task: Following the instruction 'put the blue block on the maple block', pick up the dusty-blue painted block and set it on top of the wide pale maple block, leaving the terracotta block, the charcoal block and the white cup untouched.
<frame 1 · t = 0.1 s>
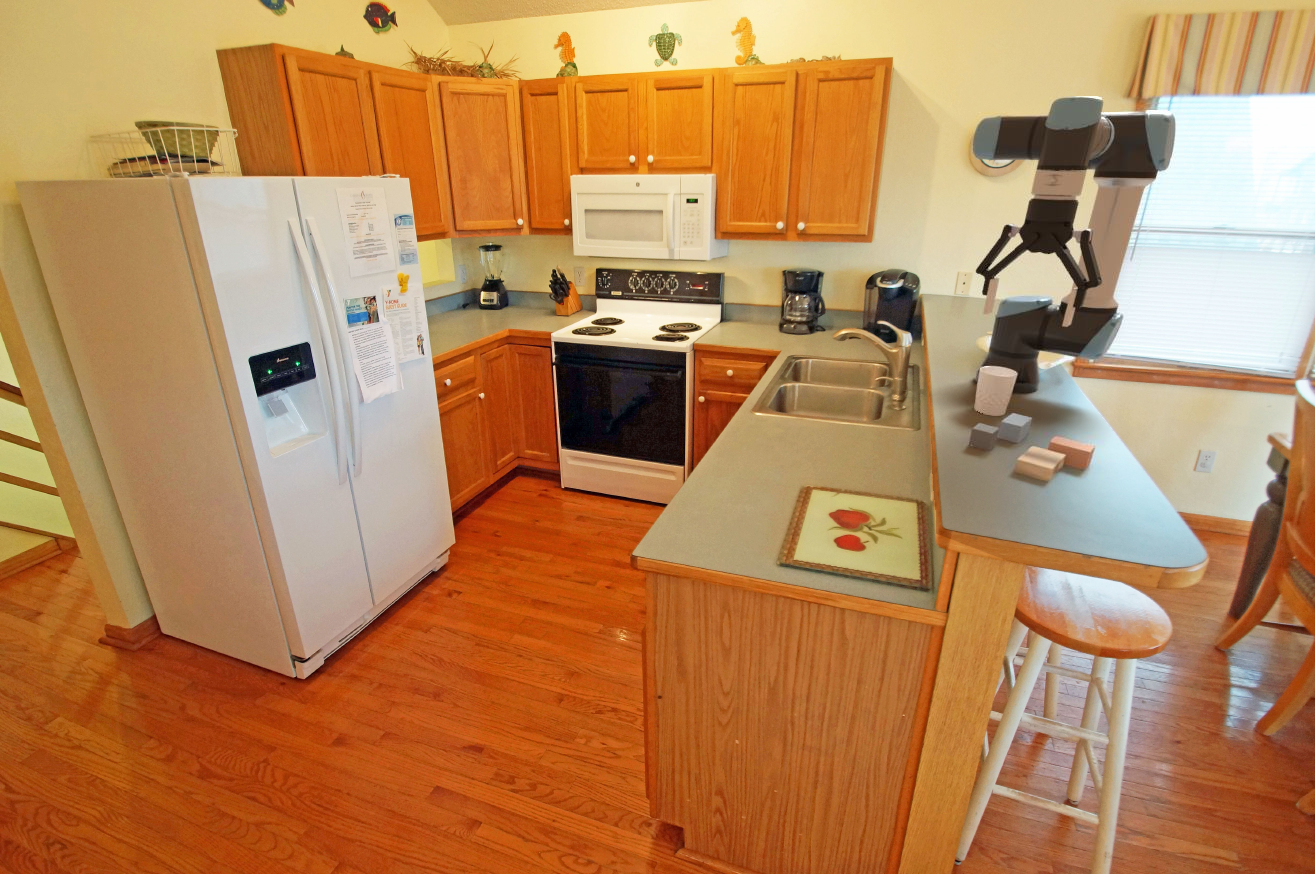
hand: (1025, 319, 120), 28 cm above the table, tool pointing down, fingers open, 13 cm apart
terracotta block: (1067, 462, 128), on the table
blue block: (1012, 436, 140), on the table
white cup: (989, 411, 154), on the table
charcoal block: (981, 445, 135), on the table
maple block: (1038, 470, 125), on the table
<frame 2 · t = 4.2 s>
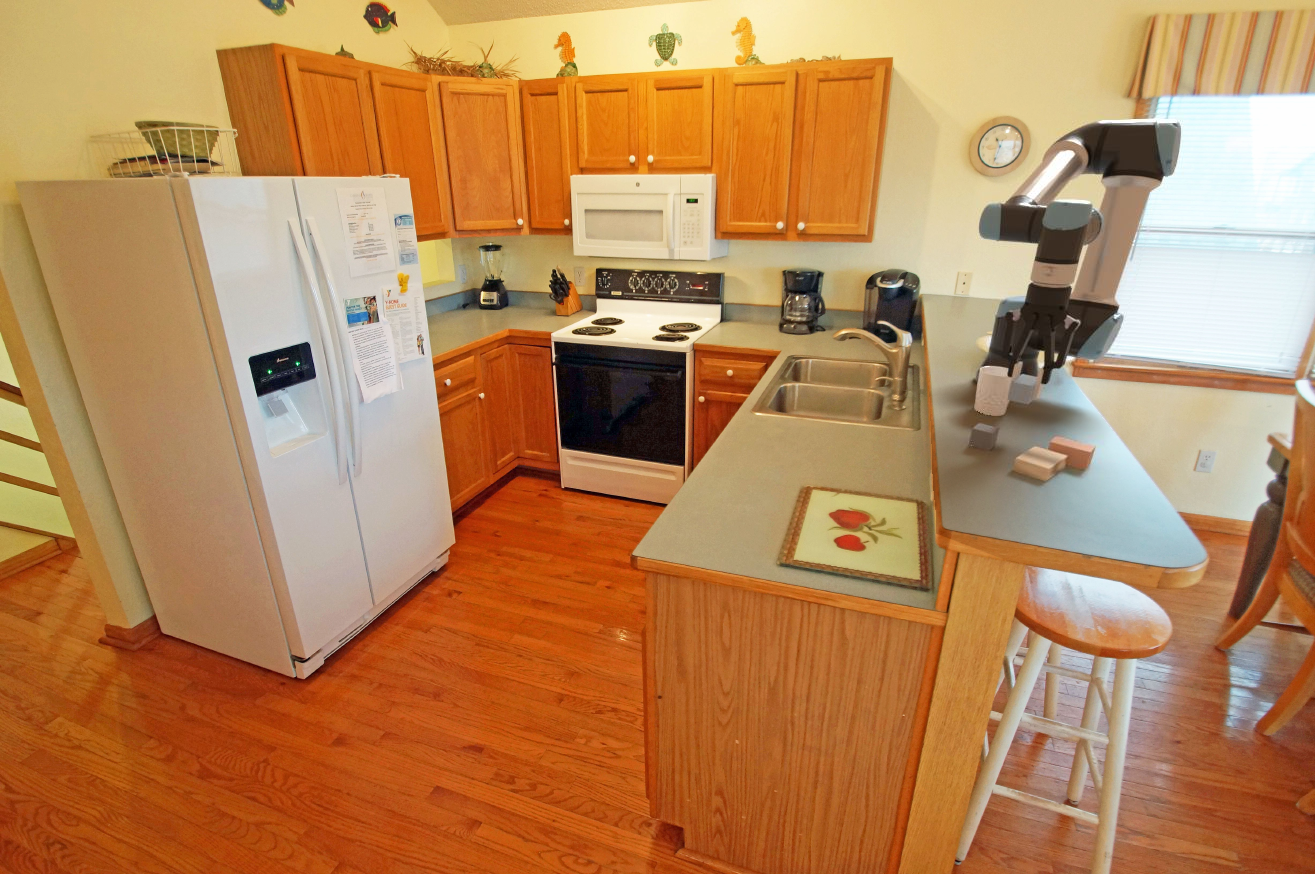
hand: (1023, 394, 136), 9 cm above the table, tool pointing down, fingers closed on blue block, 4 cm apart
blue block: (1022, 397, 137), point 9 cm above the table, touching gripper
everything else where it was.
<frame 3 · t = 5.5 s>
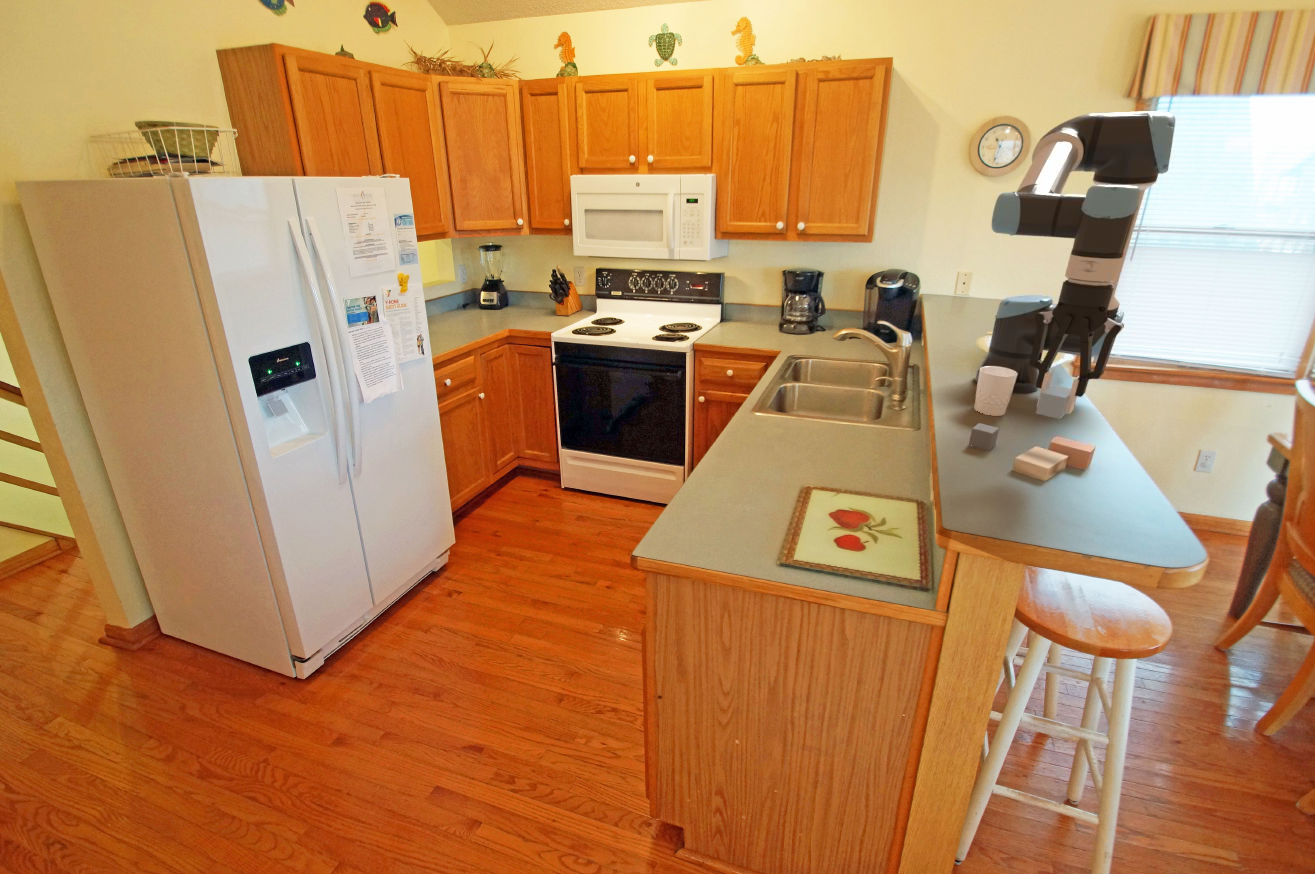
hand: (1054, 408, 120), 13 cm above the table, tool pointing down, fingers closed on blue block, 4 cm apart
blue block: (1053, 411, 120), point 12 cm above the table, touching gripper
everything else where it was.
when the fingers open (5 cm above the table, at t = 7.0 s): blue block drops 2 cm, resting on maple block.
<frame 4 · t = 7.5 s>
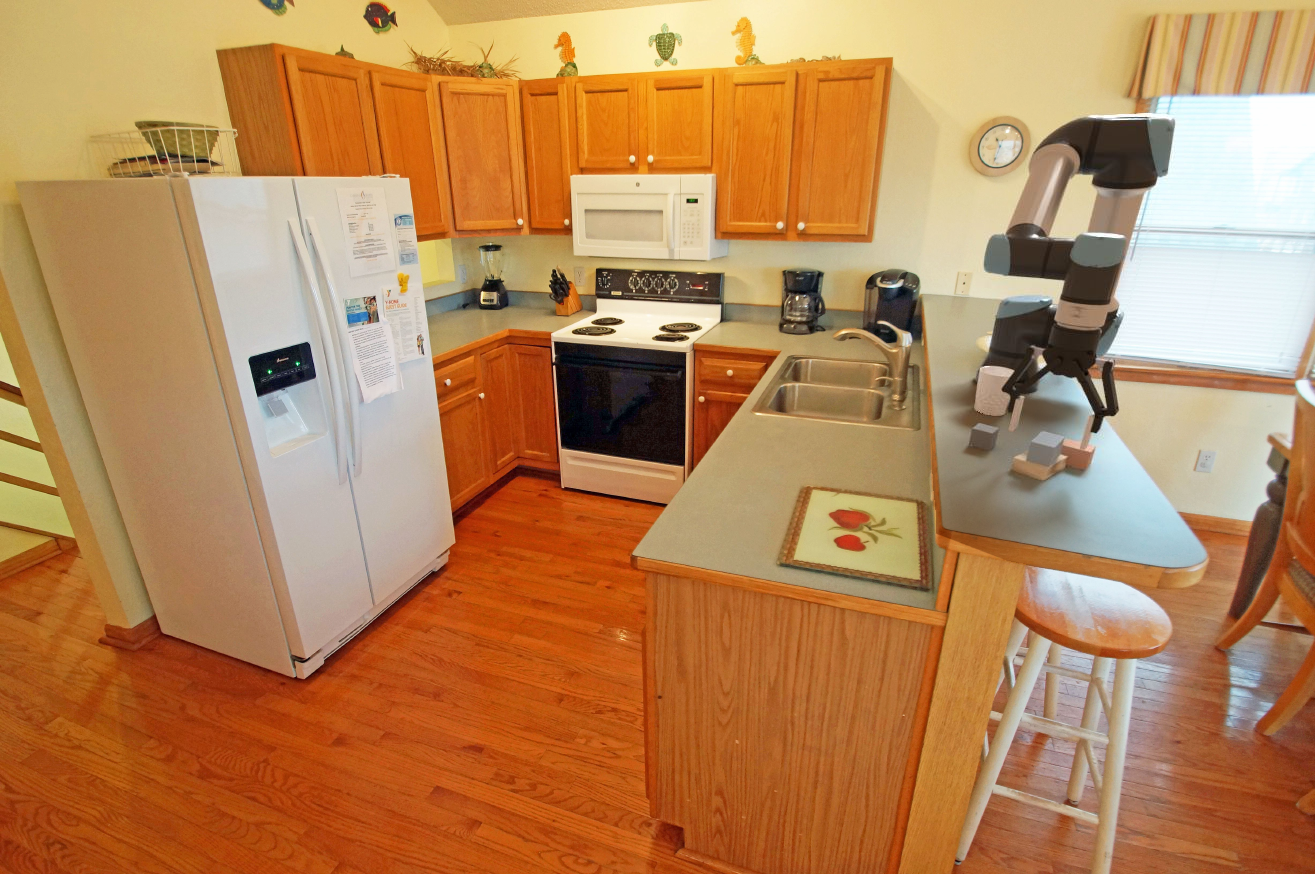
hand: (1047, 438, 122), 7 cm above the table, tool pointing down, fingers open, 11 cm apart
blue block: (1042, 458, 124), point 3 cm above the table, touching maple block
maple block: (1037, 471, 125), on the table, touching blue block
everything else where it was.
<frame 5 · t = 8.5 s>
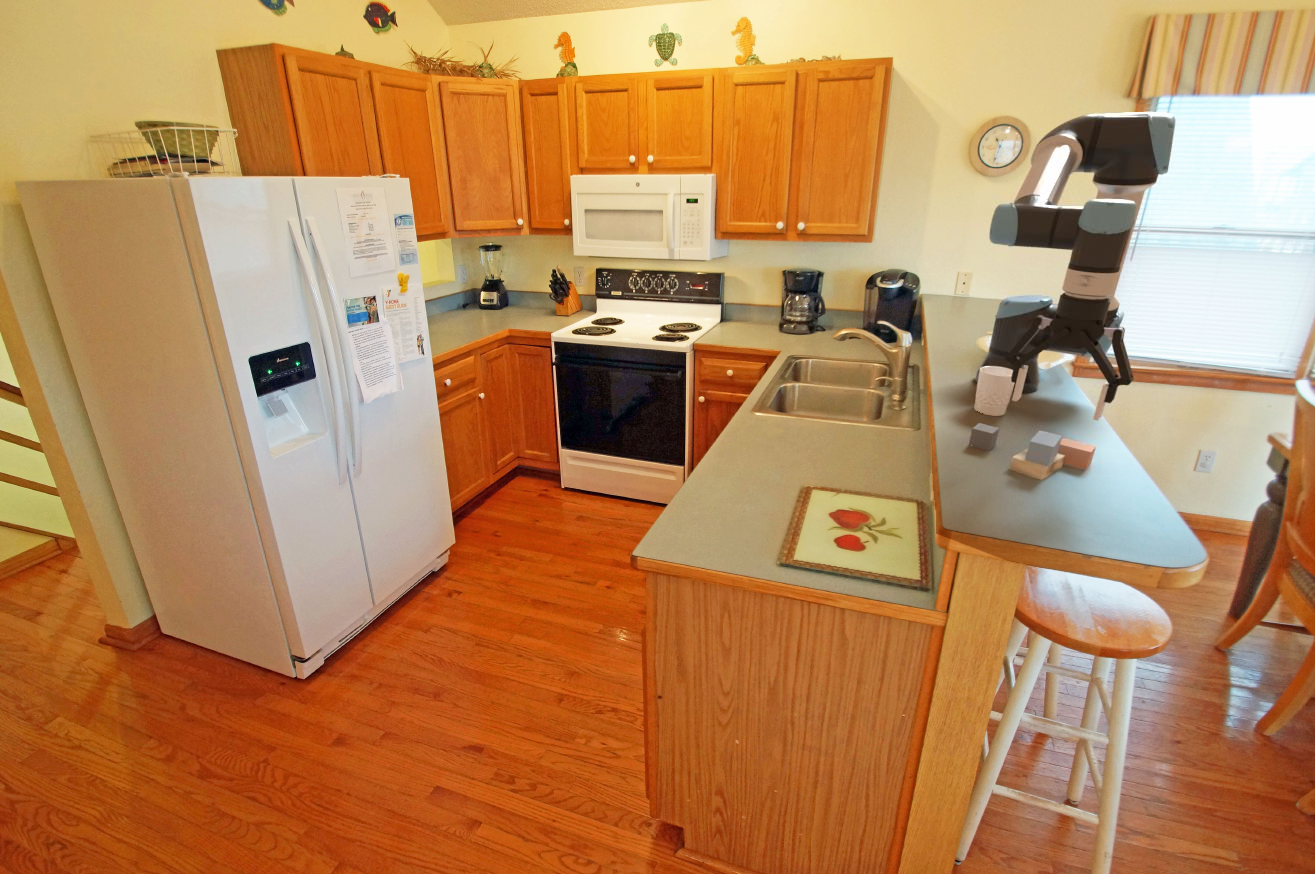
hand: (1055, 408, 120), 12 cm above the table, tool pointing down, fingers open, 13 cm apart
nothing on the table moved.
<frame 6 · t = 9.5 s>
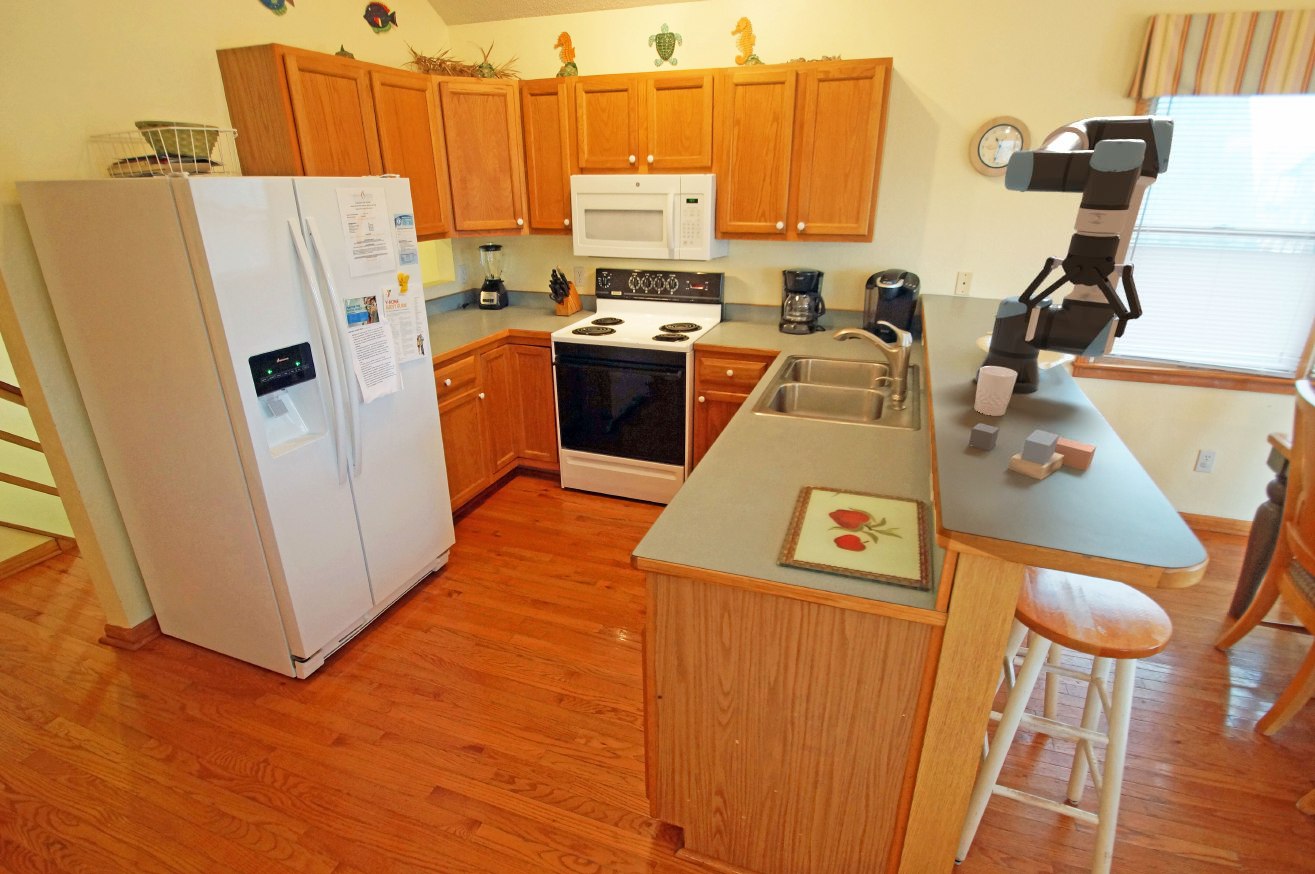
hand: (1066, 346, 126), 22 cm above the table, tool pointing down, fingers open, 13 cm apart
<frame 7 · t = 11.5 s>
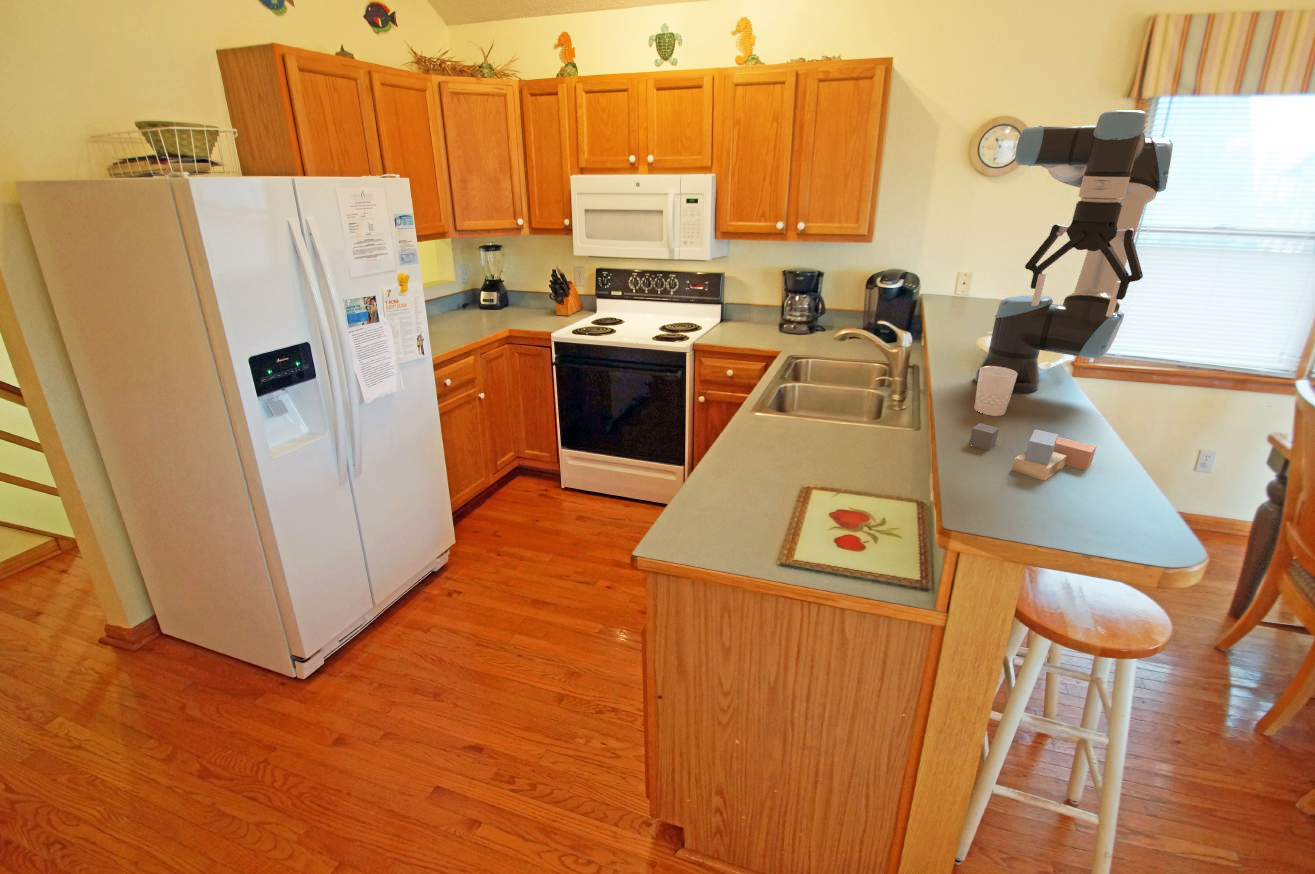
hand: (1071, 310, 133), 27 cm above the table, tool pointing down, fingers open, 13 cm apart
nothing on the table moved.
at the end: blue block 0.4 cm off-centre on the maple block, point 3.0 cm above the maple block's base; terracotta block moved 0.3 cm from its start; charcoal block moved 0.1 cm from its start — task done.
